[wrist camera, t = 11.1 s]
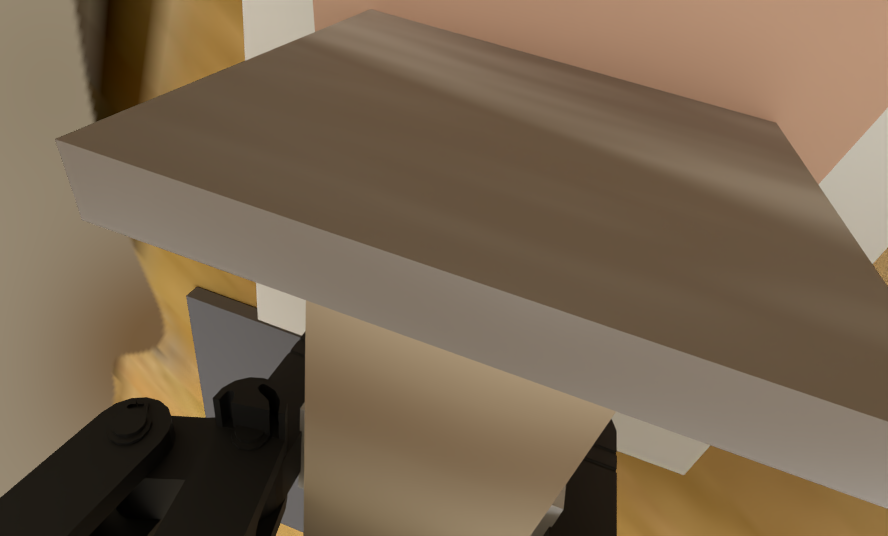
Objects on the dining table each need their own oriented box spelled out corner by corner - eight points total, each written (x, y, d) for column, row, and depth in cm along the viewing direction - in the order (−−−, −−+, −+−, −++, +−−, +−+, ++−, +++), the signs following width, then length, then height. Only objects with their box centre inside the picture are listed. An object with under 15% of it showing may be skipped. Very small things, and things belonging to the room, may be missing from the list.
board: (680, 446, 22) (686, 499, 20) (275, 300, 24) (243, 334, 22) (1139, -107, 10) (1272, -117, 8) (264, -287, 13) (194, -331, 10)
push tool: (540, 493, 20) (501, 753, 14) (337, 415, 21) (218, 625, 15) (776, 122, 10) (1005, 461, 4) (370, 8, 11) (54, 138, 5)
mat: (385, 553, 36) (381, 564, 35) (225, 487, 37) (218, 497, 37) (433, 372, 24) (428, 384, 23) (197, 286, 26) (186, 295, 25)
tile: (982, 1, 8) (960, -19, 9) (300, -161, 9) (325, -167, 10) (652, 368, 17) (653, 345, 18) (332, 258, 18) (344, 241, 19)
